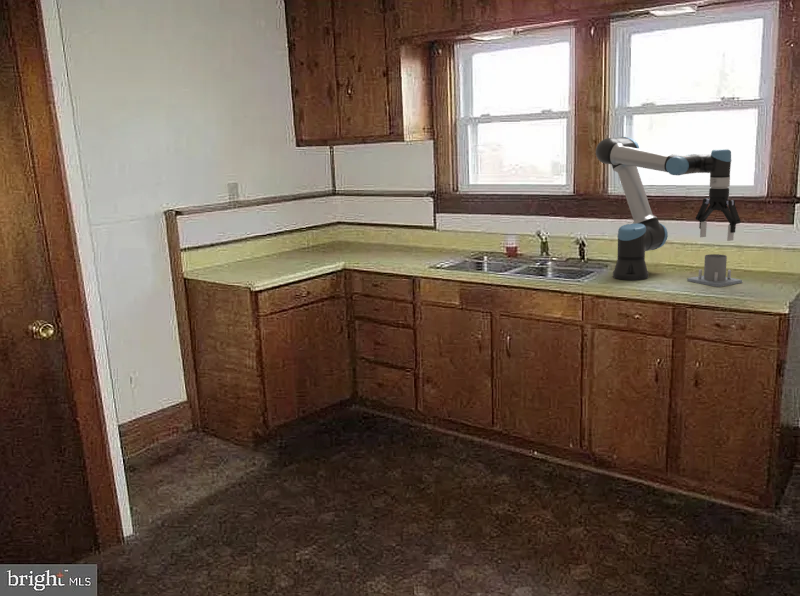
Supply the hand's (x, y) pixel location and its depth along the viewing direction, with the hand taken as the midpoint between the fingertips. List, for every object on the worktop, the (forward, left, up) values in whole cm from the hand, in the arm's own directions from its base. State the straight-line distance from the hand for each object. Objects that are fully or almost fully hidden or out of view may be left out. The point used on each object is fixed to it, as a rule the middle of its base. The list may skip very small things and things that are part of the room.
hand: (716, 238), depth 297 cm
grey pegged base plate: (0, 0, -19) cm, 19 cm away
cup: (0, 0, -18) cm, 18 cm away
